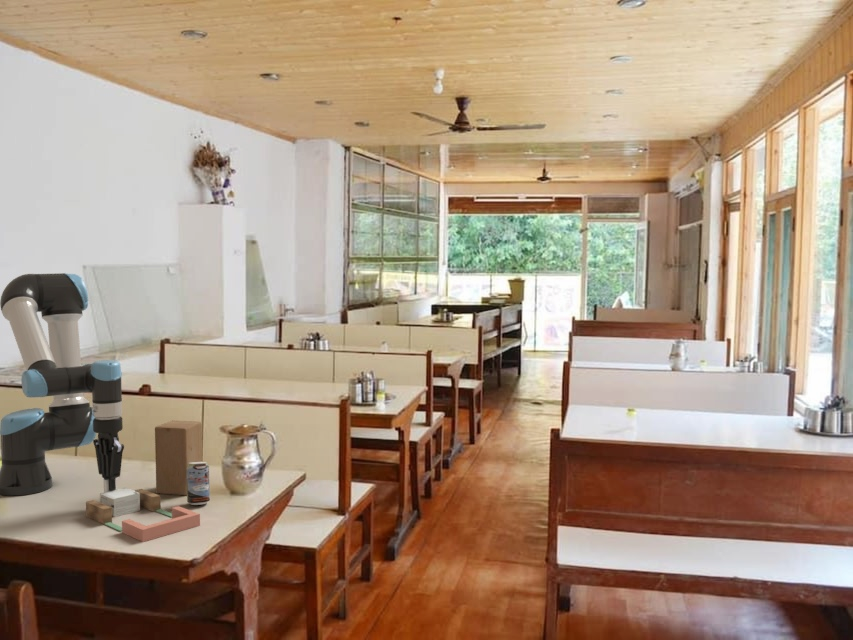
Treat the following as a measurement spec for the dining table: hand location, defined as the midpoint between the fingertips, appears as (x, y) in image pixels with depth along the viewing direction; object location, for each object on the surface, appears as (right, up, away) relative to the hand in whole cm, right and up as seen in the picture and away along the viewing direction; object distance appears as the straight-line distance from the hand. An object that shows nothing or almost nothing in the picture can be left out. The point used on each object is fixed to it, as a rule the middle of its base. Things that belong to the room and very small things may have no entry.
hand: (110, 501), depth 218 cm
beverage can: (+23, -2, +4) cm, 24 cm away
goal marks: (+12, -3, -10) cm, 17 cm away
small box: (+4, -2, -2) cm, 5 cm away
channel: (+6, -2, -5) cm, 8 cm away
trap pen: (+19, -3, -16) cm, 25 cm away
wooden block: (+14, -1, +17) cm, 22 cm away
